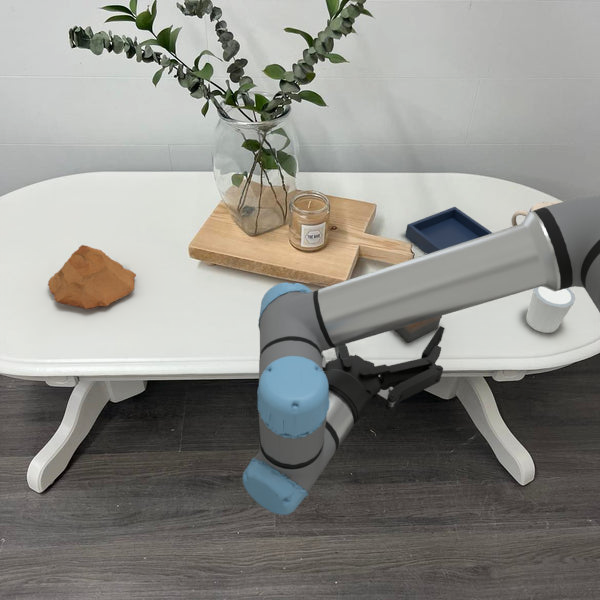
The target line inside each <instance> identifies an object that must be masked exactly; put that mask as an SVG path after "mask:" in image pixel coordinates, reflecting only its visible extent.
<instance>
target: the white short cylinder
mask: <svg viewBox="0 0 600 600" xmlns="http://www.w3.org/2000/svg"><path fill="white" fill-rule="evenodd" d="M532 290H533V291H532V295H531V297H530V302H529V305H528V309H527V312H526V316H525V320H526V323H527V324H528V326H530V327H531V328H532V329H533V330H535V331H537V332H540V333H544V334H545V333H546V334H550V333H554V332H556V331H557V330H558V328H559V327H560V325H561V323H562V322H563V321H564V319H565V317H566V316H567V315H568V313H569V311H570V310H571V308H572V307H573V305H574V303H575V301H576V296H575V293H574V292H573V291H572V289H571V288H570V287H569V288H566V289H562V290H559V291H555V292H554V291H552V290H550V289H548V288H546V287H542V286H541V287H537V288H534V289H532Z"/></svg>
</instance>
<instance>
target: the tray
mask: <svg viewBox="0 0 600 600" xmlns="http://www.w3.org/2000/svg"><path fill="white" fill-rule="evenodd" d="M491 233H493V232H492V231H491V230H489V229H488V228H486V227H485V226H483V225H482V224H481V223H479V222H478V221H477V220H475V219H474V218H472V217H471V216H469V215H468V214H467V213H465V212H464V211H462V210H460V209H459V208H458V207H456V206H453V207H449V208H447V209H445V210H441V211H439V212H437V213H434V214H432V215H428V216H426V217H424V218H421V219H419V220H416V221H413V222H411V223H408V224H407V225H406V229H405V234H404V235H405V238H406V239H408V240H409V241H411V242H412V243H413V244H414V245H416V246H417V247H418V248H419V249H420V250H422V251H423V252H424V253H426V255H427V254H430V253H433V252H436V251H439V250H442V249H445V248H448V247H451V246H454V245H457V244H461V243H464V242H467V241H470V240H473V239H476V238H479V237H482V236H485V235H488V234H491Z"/></svg>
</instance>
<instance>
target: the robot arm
mask: <svg viewBox="0 0 600 600" xmlns="http://www.w3.org/2000/svg"><path fill="white" fill-rule="evenodd" d="M560 202H561V203H557V204H553V205H550V206H546V207H543V208H540V209H537V210H534V211H531V212H529V211H527V212H528V214H527V216H524V219H523V221H521V223H520V224H517V225H516V226H510V227H507V228H504V229H501V230H498V231H495V232H492V233H491V234H488V235H485V236H482V237H479V238H476V239H473V240H470V241H467V242H464V243H461V244H457V245H454V246H451V247H448V248H445V249H442V250H439V251H436V252H433V253H430V254H427V253H426V254H424V255H421V256H417V257H414V258H412V259H408V260H405V261H402V262H398V263H396V264H392V265H390V266H387V267H383V268H379V269H377V270H374V271H371V272H369V273H365V274H362V275H358V276H355V277H353V278H350V279H346V280H343V281H341V282H337V283H334V284H331V285H328V286H325V287H321V288H319V289H317V290H312V289H310V288H309V287H308V286H307V285H305V284H302V283H300V282H295V283H292V282H280V283H277V284H275V285H274V286H273V285H272V287H270V288H269V289H268V290H267V291H266V292H265V294H264V295H263V297H262V298H261V302H260V309H259V317H258V323H257V324H258V325H257V327H258V331H259V363H258V387H257V392H256V393H257V394H256V395H257V402H256V405H257V411H258V425H259V438H258V439H259V440H258V441H259V442H258V443H259V445H258V447H259V450H258V453H257V454H256V455H255V456H254V457H252V458H251V459H250V462H249V464H248V465H247V467H246V469H245V470H244V471H243V474H242V484H243V486H244V488H245V490H246V492H247V493H248V495H249V496H250V498H252V499H253V501H255V502H256V503H257V504H258V505H260V506H261V507H263V508H264V509H266V510H267V511H268V512H271V513H273V514H275V515H279V516H286V515H290V514H292V513H293V512H294V511H296V509H297V508H298V507H299V505H300V504H301V503H302V501H304V499H305V498H306V497H308V496H309V492H310V490H311V489H312V487H313V486H314V485H315V483H316V482H317V480H318V479H319V477H320V476H321V475H322V472H323V471H324V470H325V468H326V467H327V466H328V464H329V462H330V461H331V459H332V458H333V456H334V455H335V453H336V452H337V450H338V448H340V446H341V444H342V443H343V441H344V440H345V439H346V438H347V436H348V435H349V433H350V432H351V430H352V429H353V427H354V425H355V424H356V423H357V422H358V421H359V419H360V417H361V416H362V415H363V413H364V412H365V411H366V409H367V408H368V406H369V404H370V403H371V402H372V401H373V400H376V399H378V400H379V401H381V402H382V403H384V404H385V409H386V410H388V411H394V410H395V409H396V408H397V406H398V405H399V404H400V403H401V402H403V401H404V400H407V399H409V398H410V397H412V396H414V395H416V394H418V393H420V392H423V391H424V390H426V389H429V388H431V387H432V386H435V385H436V384H438V383H440V381H441V379H442V376H443V372H444V367H443V366H442V365H439V364H438V365H437V364H436V363H437V361H438V359H439V357H440V356H441V352H442V347H441V346H439V345H440V343H441V341H442V339H443V335H444V333H445V329H446V328H445V327H443V326H441V325H439V326H438V328H437V329H436V331H435V332H434V334H433V336H432V338H431V339H430V341H429V342H428V343H427V345H426V347H424V349H423V351H422V353H421V357H420V358H417V359H412V360H407V361H403V362H399V363H394V364H390V365H387V364H379V365H375V363H374V362H372V361H369V360H365V359H363V357H361V356H359V355H358V354H354V355H351V354H350V353H349V348H348V346H347V344H351V343H354V342H357V341H361V340H365V339H367V338H370V337H373V336H378V335H380V334H384V333H388V332H391V331H395V330H394V329H398V328H401V327H405V326H408V325H412V324H415V323H418V322H422V321H425V320H429V319H432V318H435V317H439V316H442V317H443V316H445V315H448V314H452V313H455V312H459V311H462V310H465V309H469V308H472V307H476V306H479V305H483V304H486V303H489V302H493V301H497V300H499V299H503V298H506V297H510V296H513V295H516V294H520V293H523V292H527V291H531V290H534V288H537V287H541V286H542V287H546V288H548V289H550V290H552V291H554V292H555V291H559V290H562V289H566V288H569V289H570V288H574V287H576V288H584V290H585V292H586V293H587V295H588V296H589V298H590V300H591V301H592V302H593V304H594V306H595V307H596V309H597V310H598V312H599V313H600V195H596V196H595V195H594V196H586V197H579V198H574V199H569V200H565V201H560ZM330 349H333V350H334V352H335V356H336V358H335V359H332V360H329V361H326V356H325V354H324V353H323V352H324V351H328V350H330ZM400 381H402V382H400ZM396 382H399V383H398V384H397V385H395V386H394V387H393V386H390V387H388V388H386V389H382V388H384V387H386V386H388V385H389V384H392V383H396Z"/></svg>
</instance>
